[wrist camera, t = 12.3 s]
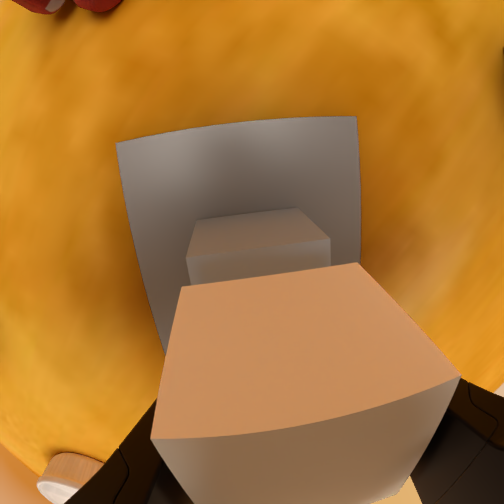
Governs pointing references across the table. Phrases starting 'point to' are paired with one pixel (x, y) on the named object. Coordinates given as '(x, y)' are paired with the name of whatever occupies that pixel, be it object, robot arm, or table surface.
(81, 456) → the ramekin
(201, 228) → the slate block
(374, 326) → the cream block
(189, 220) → the baseplate
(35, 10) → the toy fire truck
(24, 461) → the table surface
